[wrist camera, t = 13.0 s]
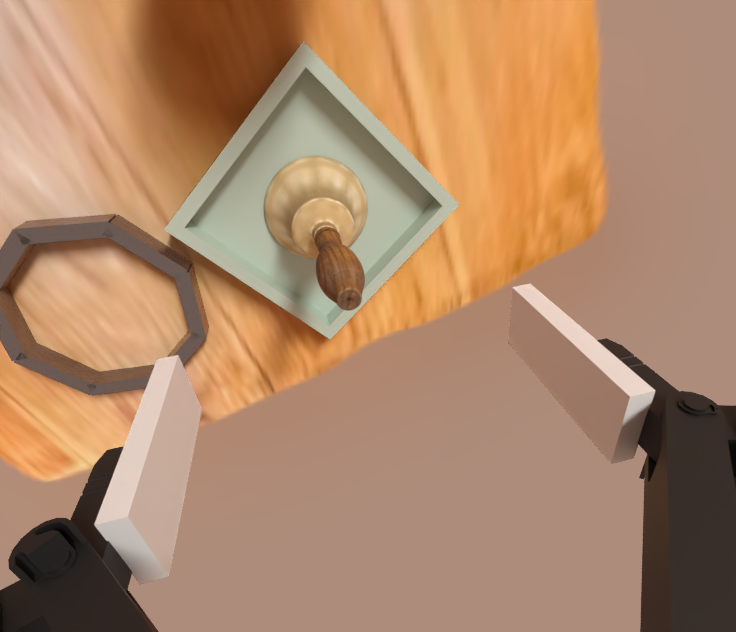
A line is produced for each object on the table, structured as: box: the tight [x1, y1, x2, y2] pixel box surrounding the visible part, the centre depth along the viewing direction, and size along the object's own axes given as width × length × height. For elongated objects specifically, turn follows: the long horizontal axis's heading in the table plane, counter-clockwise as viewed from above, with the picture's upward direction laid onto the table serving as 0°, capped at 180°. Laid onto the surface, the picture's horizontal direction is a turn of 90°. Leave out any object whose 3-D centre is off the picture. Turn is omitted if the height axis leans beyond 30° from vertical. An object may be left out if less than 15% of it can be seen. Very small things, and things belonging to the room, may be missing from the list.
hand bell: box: [264, 156, 368, 311], centre depth 28 cm, size 8×8×16 cm
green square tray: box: [164, 41, 459, 339], centre depth 34 cm, size 16×16×3 cm
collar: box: [0, 214, 209, 395], centre depth 35 cm, size 15×15×2 cm
